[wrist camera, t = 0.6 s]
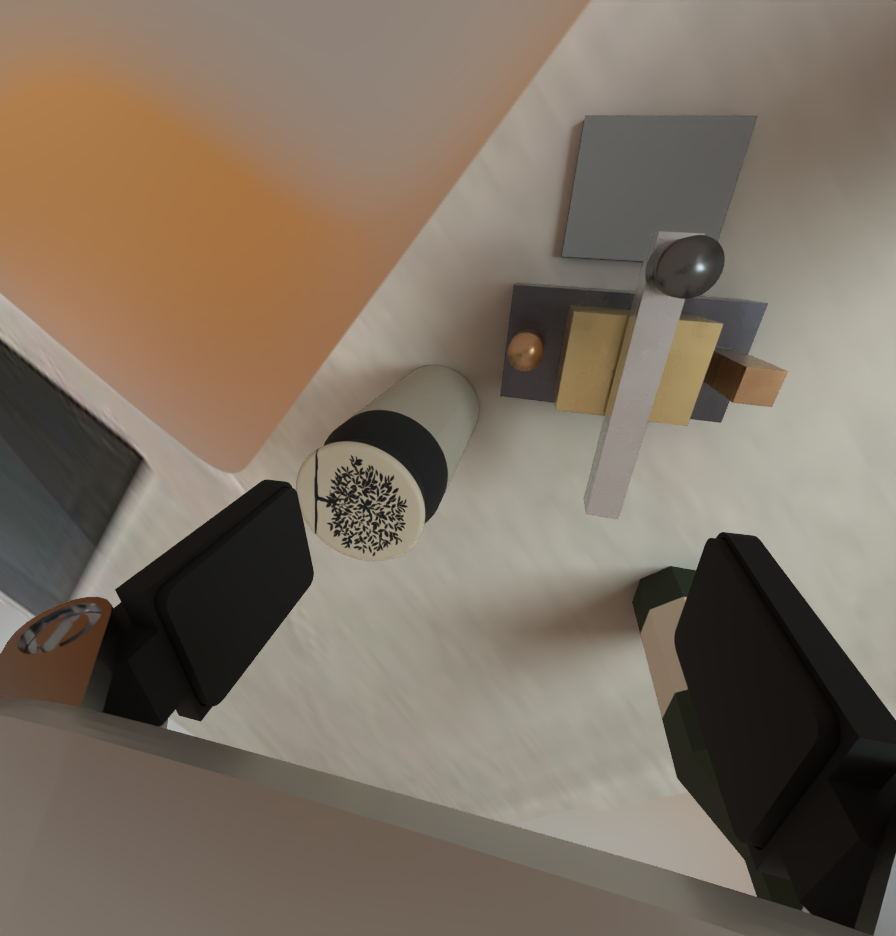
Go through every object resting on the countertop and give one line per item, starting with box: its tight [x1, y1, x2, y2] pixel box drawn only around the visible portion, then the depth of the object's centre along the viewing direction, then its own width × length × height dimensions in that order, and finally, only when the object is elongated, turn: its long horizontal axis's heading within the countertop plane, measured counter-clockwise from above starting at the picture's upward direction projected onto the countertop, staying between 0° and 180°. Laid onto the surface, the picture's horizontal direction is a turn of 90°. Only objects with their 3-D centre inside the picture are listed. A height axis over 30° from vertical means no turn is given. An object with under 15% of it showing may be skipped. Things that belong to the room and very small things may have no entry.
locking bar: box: [584, 231, 724, 519], centre depth 22 cm, size 2×16×5 cm, turn 177°
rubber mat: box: [562, 116, 757, 262], centre depth 27 cm, size 10×8×1 cm
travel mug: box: [296, 365, 479, 561], centre depth 30 cm, size 8×8×18 cm
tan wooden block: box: [554, 305, 723, 426], centre depth 26 cm, size 8×6×5 cm
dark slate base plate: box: [500, 283, 788, 423], centre depth 28 cm, size 16×8×10 cm, turn 87°
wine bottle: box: [632, 566, 803, 911], centre depth 28 cm, size 8×8×30 cm
